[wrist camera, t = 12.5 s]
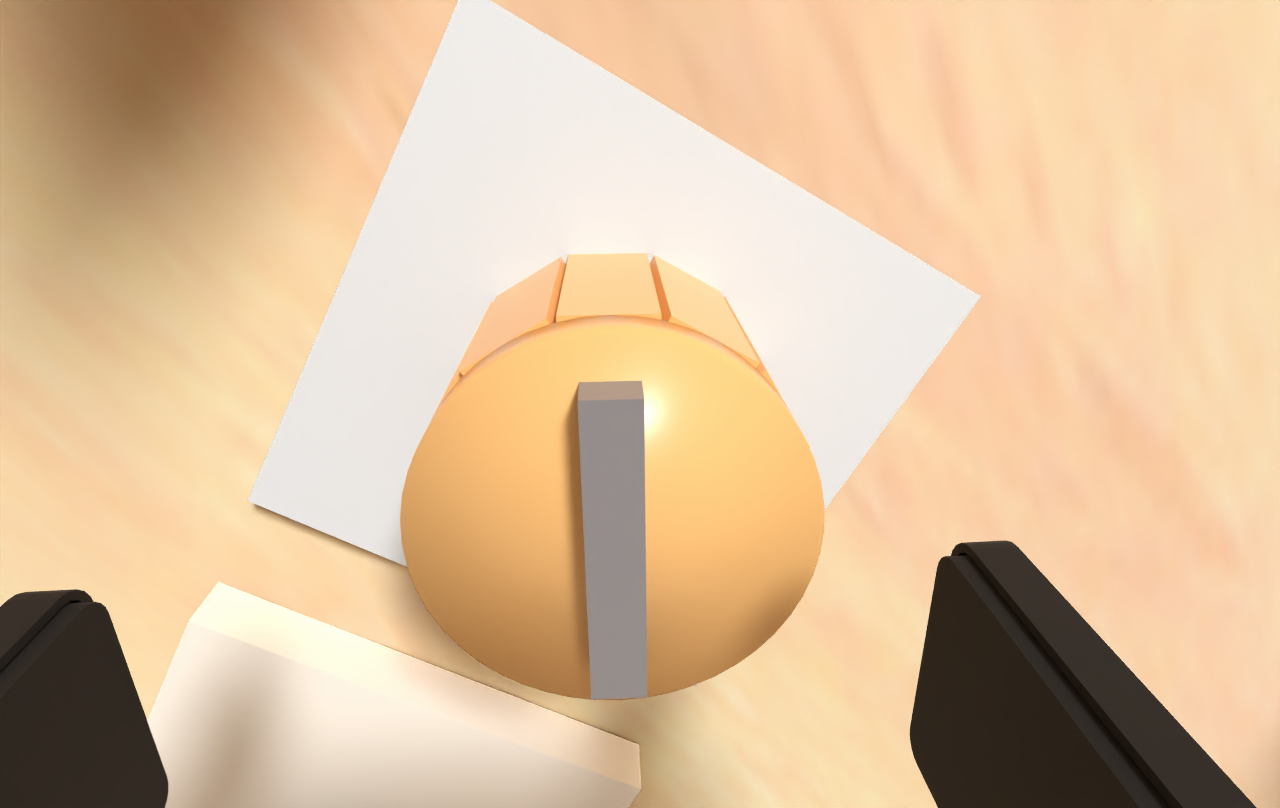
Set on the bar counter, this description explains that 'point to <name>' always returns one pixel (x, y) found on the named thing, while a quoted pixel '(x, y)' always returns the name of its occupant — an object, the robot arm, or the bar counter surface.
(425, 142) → the mat
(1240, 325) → the bar counter surface
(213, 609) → the post block
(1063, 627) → the robot arm
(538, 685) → the knob
